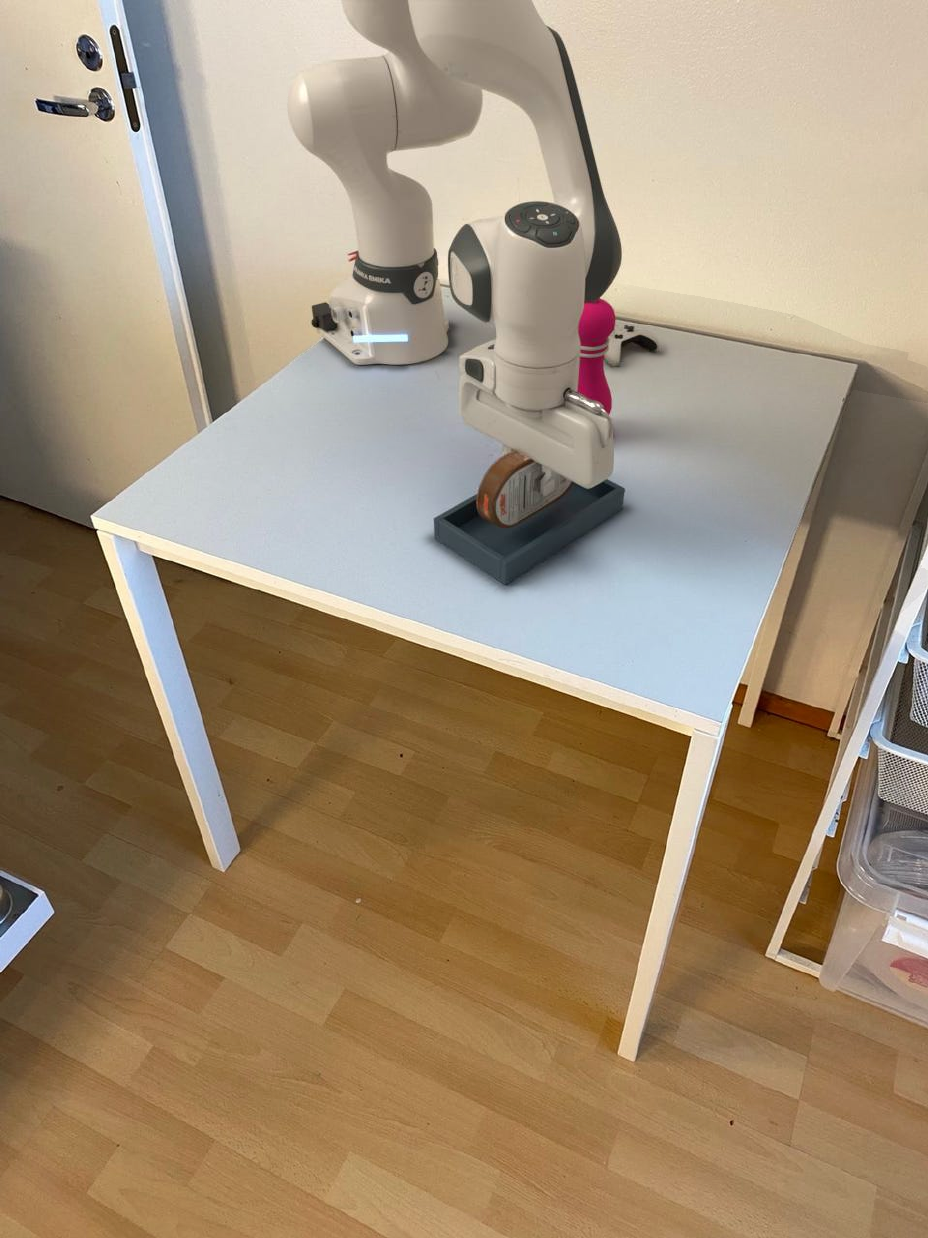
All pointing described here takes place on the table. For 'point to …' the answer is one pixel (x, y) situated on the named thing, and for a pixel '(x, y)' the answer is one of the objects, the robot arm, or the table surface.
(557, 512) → the tray
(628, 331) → the game controller
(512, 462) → the tin
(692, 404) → the table surface
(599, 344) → the pepper mill
